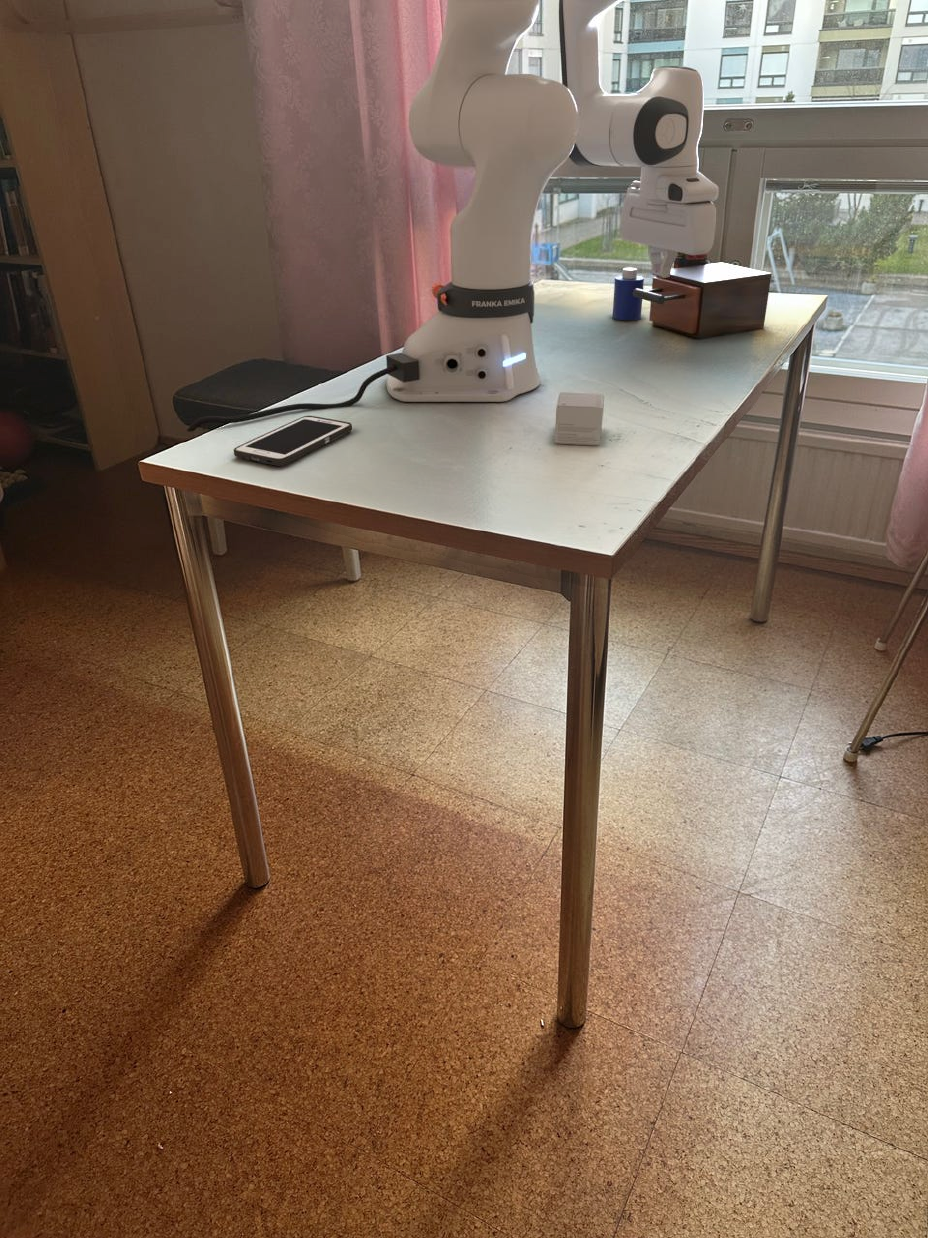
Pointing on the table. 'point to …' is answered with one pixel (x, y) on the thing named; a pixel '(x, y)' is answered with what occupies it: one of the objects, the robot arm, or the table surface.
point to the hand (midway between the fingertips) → (660, 276)
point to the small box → (579, 418)
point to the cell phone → (292, 440)
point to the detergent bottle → (627, 295)
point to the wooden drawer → (673, 303)
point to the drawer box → (726, 298)
